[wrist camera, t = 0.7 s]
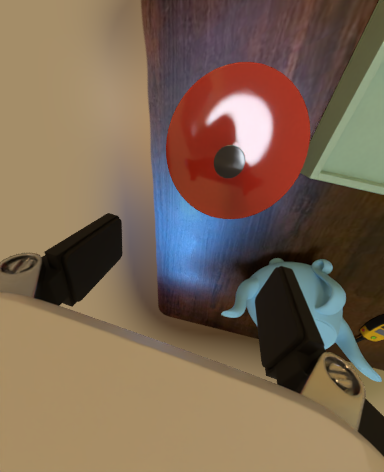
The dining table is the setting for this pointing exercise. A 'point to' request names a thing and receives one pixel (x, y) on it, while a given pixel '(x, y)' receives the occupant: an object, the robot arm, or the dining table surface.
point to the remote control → (373, 330)
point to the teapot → (310, 305)
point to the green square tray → (354, 119)
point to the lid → (238, 140)
